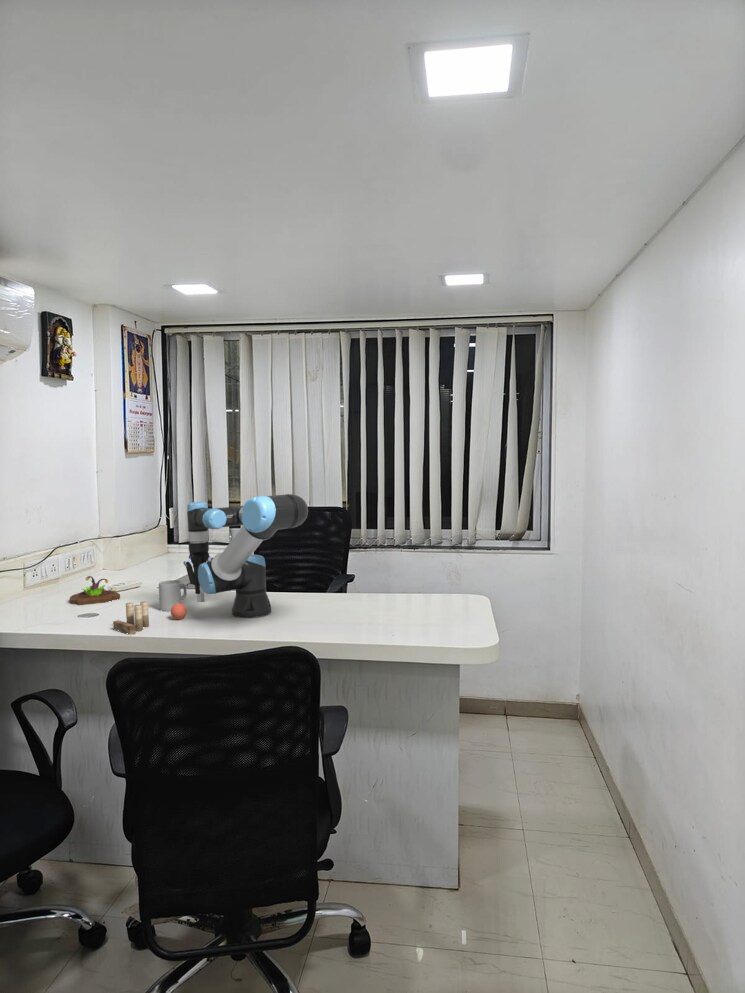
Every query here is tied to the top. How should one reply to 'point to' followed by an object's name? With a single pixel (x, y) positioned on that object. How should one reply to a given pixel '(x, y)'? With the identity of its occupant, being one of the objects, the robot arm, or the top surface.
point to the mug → (170, 594)
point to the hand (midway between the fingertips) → (200, 601)
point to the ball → (178, 611)
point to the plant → (94, 594)
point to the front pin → (145, 614)
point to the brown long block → (124, 627)
